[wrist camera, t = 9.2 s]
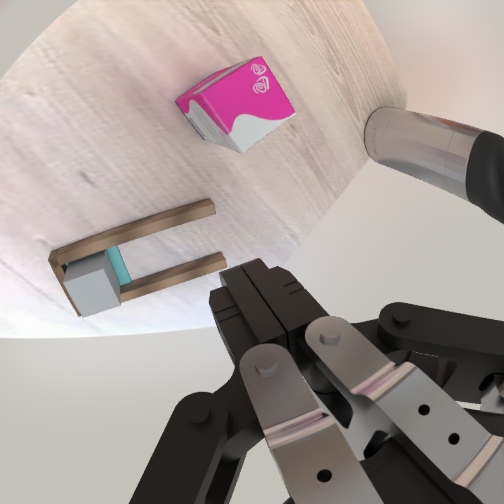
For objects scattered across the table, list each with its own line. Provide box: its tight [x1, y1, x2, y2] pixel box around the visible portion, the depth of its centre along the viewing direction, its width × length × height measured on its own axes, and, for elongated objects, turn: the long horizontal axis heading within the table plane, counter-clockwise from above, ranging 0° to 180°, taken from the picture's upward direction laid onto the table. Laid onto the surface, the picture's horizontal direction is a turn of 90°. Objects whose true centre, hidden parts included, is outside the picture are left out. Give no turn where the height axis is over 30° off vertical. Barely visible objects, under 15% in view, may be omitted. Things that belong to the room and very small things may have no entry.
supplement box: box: [175, 56, 296, 154], centre depth 24 cm, size 6×6×12 cm
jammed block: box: [63, 249, 121, 318], centre depth 30 cm, size 5×5×4 cm
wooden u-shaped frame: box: [48, 199, 227, 316], centre depth 32 cm, size 20×9×2 cm, turn 97°
